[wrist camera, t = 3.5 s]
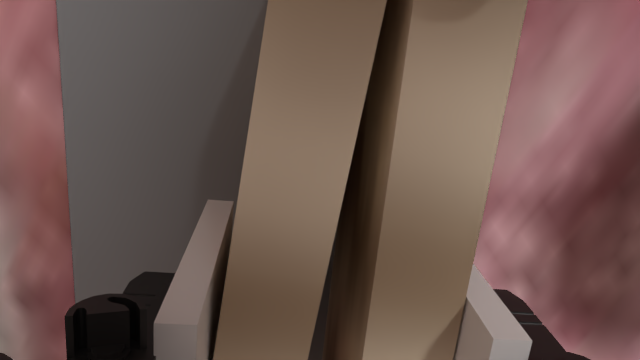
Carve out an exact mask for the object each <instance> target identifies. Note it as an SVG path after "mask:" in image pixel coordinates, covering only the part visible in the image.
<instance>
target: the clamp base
mask: <svg viewBox="0 0 640 360" xmlns="http://www.w3.org/2000/svg"><path fill="white" fill-rule="evenodd" d="M527 2H528V0H387V2H386V6H385V11H384V15H383V20H382V24H381V29H380V34H379V38H378V43H377V47H376V52H375V56H374V61H373V65H372V70H371V74H370V79H369V83H368V88H367V92H366V97H365V102H364V106H363V111H362V115H361V120H360V124H359V129H358V133H357V138H356V142H355V147H354V151H353V156H352V160H351V165H350V169H349V174H348V179H347V183H346V188H345V192H344V197H343V201H342V206H341V210H340V215H339V219H338V225H337V233H336V242H335V251H334V260H333V269H332V277H331V286H330V295H329V304H328V313H327V321H326V330H325V339H324V348H323V357H322V360H453V357H454V352H455V347H456V342H457V338H458V333H459V328H460V323H461V318H462V314H463V309H464V304H465V299H466V294H467V290H468V285H469V280H470V275H471V271H472V266H473V261H474V256H475V251H476V247H477V242H478V237H479V232H480V227H481V223H482V218H483V213H484V208H485V203H486V199H487V194H488V189H489V184H490V179H491V175H492V170H493V165H494V160H495V155H496V151H497V146H498V141H499V136H500V131H501V127H502V122H503V117H504V112H505V108H506V103H507V98H508V93H509V88H510V84H511V79H512V74H513V69H514V64H515V60H516V55H517V50H518V45H519V40H520V36H521V31H522V26H523V21H524V16H525V12H526V7H527Z"/></svg>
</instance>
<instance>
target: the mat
mask: <svg viewBox="0 0 640 360" xmlns="http://www.w3.org/2000/svg"><path fill="white" fill-rule="evenodd" d="M56 5H57V21H58V37H59V53H60V69H61V85H62V101H63V116H64V132H65V148H66V164H67V180H68V196H69V212H70V227H71V243H72V259H73V275H74V291H75V304H76V303H78V302H79V301H81V300H84V299H87V298H89V297H92V296H96V295H102V294H108V293H112V294H123V292H124V290H125V288H126V287H127V285H128V283H129V282H130V281H131V280H132V279H134V278H135V277H137V276H138V275H140V274H142V273H143V272H145V271H147V272H165V273H176V271H177V269H178V267H179V264H180V262H181V260H182V257H183V255H184V253H185V251H186V248H187V246H188V244H189V242H190V239H191V237H192V235H193V232H194V230H195V228H196V226H197V223H198V221H199V219H200V217H201V214H202V212H203V210H204V207H205V205H206V203H207V201H208V200H222V201H234V203H233V224H232V233H233V226H234V220H235V213H236V207H237V200H238V194H239V187H240V181H241V174H242V168H243V161H244V155H245V148H246V142H247V135H248V129H249V122H250V116H251V109H252V103H253V96H254V89H255V83H256V76H257V70H258V63H259V57H260V50H261V44H262V37H263V31H264V24H265V18H266V11H267V5H268V0H56ZM337 225H338V224H337ZM336 233H337V228H336ZM336 233H335V237H334V242H333V247H332V251H331V256H330V260H329V265H328V269H327V274H326V278H325V283H324V287H323V292H322V296H321V301H320V305H319V310H318V314H317V319H316V324H315V328H314V333H313V337H312V342H311V346H310V351H309V355H308V360H322V357H323V348H324V339H325V330H326V321H327V313H328V304H329V295H330V286H331V277H332V269H333V260H334V251H335V242H336Z"/></svg>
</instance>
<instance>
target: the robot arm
mask: <svg viewBox="0 0 640 360" xmlns="http://www.w3.org/2000/svg"><path fill="white" fill-rule="evenodd" d="M233 203H234V201H222V200H208V201H207V203H206V205H205V207H204V210H203V212H202V214H201V217H200V219H199V221H198V223H197V226H196V228H195V230H194V232H193V235H192V237H191V239H190V242H189V244H188V246H187V248H186V251H185V253H184V255H183V257H182V260H181V262H180V264H179V267H178V269H177V271H176V273H165V272H147V271H145V272H143V273H142V274H140V275H138V276H137V277H135V278H134V279H132V280H131V281H130V282H129V283H128V285H127V287H126V288H125V290H124V292H123V294H112V293H108V294H102V295H96V296H92V297H89V298H87V299H84V300H81V301H79V302H78V303H76V304H75V305H74V306H72V307H71V308H69V310H68V312H67V313H66V315H65V330H66V348H67V360H213V357H214V350H215V344H216V337H217V331H218V324H219V318H220V311H221V305H222V298H223V292H224V285H225V279H226V272H227V266H228V259H229V253H230V246H231V239H232V224H233ZM0 360H13V359H12V358H10V357H9V356H7V355H5V354H3V353H0ZM453 360H590V359H588V358H586V357H584V356H580V355H577V354H574V353H570V352H566V351H565V350H564V348H563V347H562V346H561V345H560V344H559V342H558V341H557V340H556V339H555V338H554V337H553V335H552V334H551V333H550V332H549V331H548V329H547V328H546V327H545V326H544V325H542V322H541V321H540V320H539V319H538V318H537V316H536V315H533V312H532V310H531V309H530V308H529V307H528V306H527V305H526V303H525V302H524V301H523V300H521V299H520V298H518V297H517V296H515V295H514V294H512V293H511V292H509V291H508V290H499V289H492V287H491V286H490V285H489V283H488V282H487V281H486V280H485V278H484V277H483V276H482V274H481V273H480V272H479V270H478V269H477V268H476V266H475V265H474V264H473V266H472V271H471V275H470V280H469V285H468V290H467V294H466V299H465V304H464V309H463V314H462V318H461V323H460V328H459V333H458V338H457V342H456V347H455V352H454V357H453Z"/></svg>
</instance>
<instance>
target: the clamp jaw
mask: <svg viewBox="0 0 640 360" xmlns="http://www.w3.org/2000/svg"><path fill="white" fill-rule="evenodd" d="M386 2H387V0H268V5H267V11H266V18H265V24H264V31H263V37H262V44H261V50H260V57H259V63H258V70H257V76H256V83H255V89H254V96H253V103H252V109H251V116H250V122H249V129H248V135H247V142H246V148H245V155H244V161H243V168H242V174H241V181H240V187H239V194H238V200H237V207H236V213H235V220H234V226H233V233H232V239H231V246H230V253H229V259H228V266H227V272H226V279H225V285H224V292H223V298H222V305H221V311H220V318H219V324H218V331H217V337H216V344H215V350H214V357H213V360H308V355H309V351H310V346H311V342H312V337H313V333H314V328H315V324H316V319H317V314H318V310H319V305H320V301H321V296H322V292H323V287H324V283H325V278H326V274H327V269H328V265H329V260H330V256H331V251H332V247H333V242H334V237H335V233H336V228H337V224H338V219H339V215H340V210H341V206H342V201H343V197H344V192H345V188H346V183H347V179H348V174H349V169H350V165H351V160H352V156H353V151H354V147H355V142H356V138H357V133H358V129H359V124H360V120H361V115H362V111H363V106H364V102H365V97H366V92H367V88H368V83H369V79H370V74H371V70H372V65H373V61H374V56H375V52H376V47H377V43H378V38H379V34H380V29H381V24H382V20H383V15H384V11H385V6H386Z"/></svg>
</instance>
